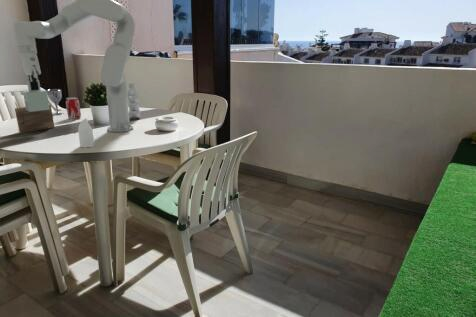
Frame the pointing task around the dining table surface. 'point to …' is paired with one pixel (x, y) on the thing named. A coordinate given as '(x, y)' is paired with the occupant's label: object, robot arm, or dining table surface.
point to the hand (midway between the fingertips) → (34, 89)
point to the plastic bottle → (133, 102)
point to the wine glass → (55, 98)
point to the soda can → (73, 108)
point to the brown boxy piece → (34, 119)
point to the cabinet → (36, 99)
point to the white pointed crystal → (85, 134)
